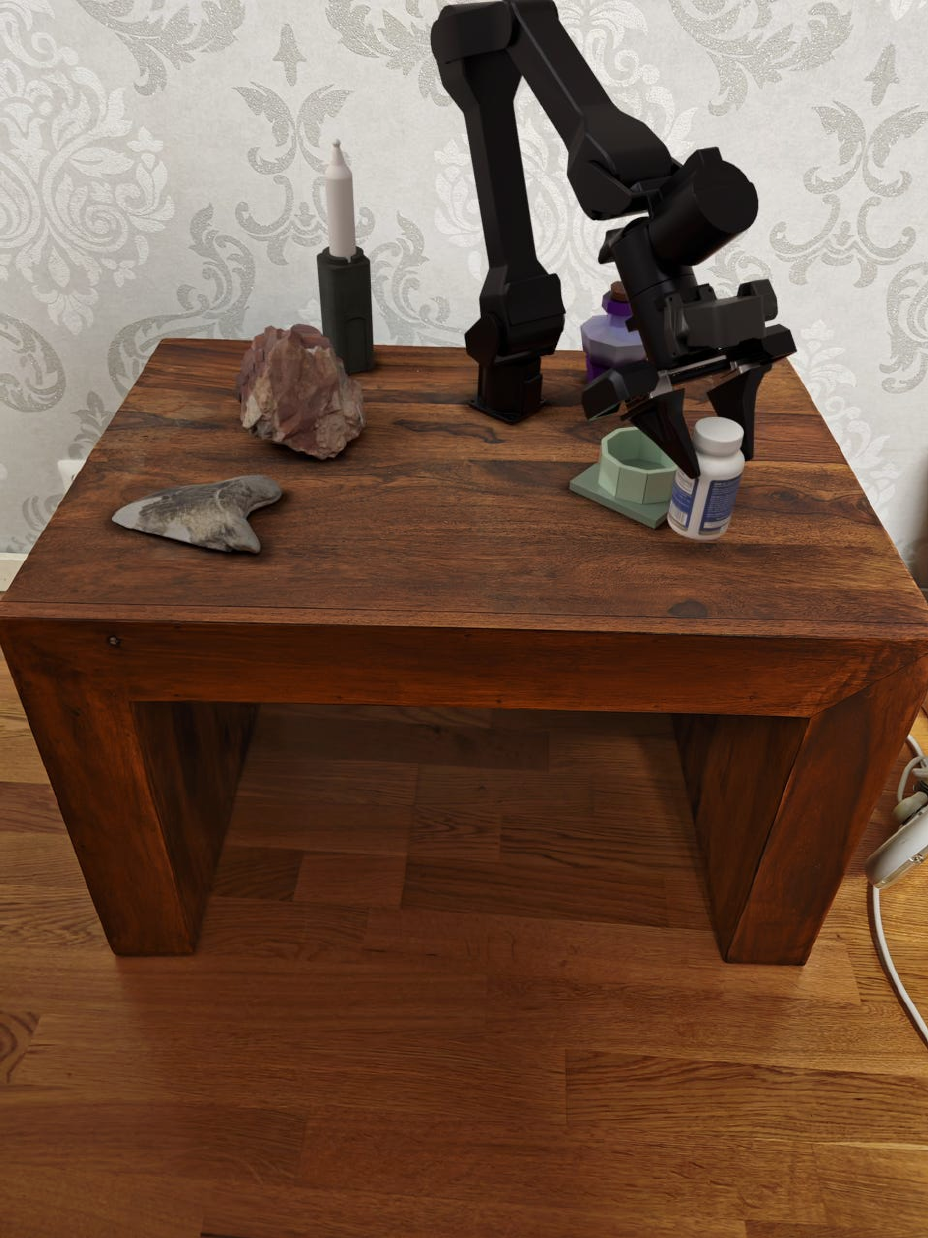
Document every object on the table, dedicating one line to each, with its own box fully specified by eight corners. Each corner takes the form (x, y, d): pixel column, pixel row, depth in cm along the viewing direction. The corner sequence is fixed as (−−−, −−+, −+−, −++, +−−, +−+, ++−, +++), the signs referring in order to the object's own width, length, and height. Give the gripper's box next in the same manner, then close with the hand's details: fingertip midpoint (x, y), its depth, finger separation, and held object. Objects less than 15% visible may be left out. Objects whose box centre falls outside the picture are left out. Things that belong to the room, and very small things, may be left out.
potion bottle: (613, 361, 118) (626, 263, 110) (663, 390, 113) (681, 290, 105) (558, 379, 114) (568, 279, 106) (608, 410, 109) (622, 308, 101)
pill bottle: (731, 514, 87) (756, 418, 81) (723, 548, 83) (748, 451, 77) (671, 501, 88) (692, 406, 82) (661, 534, 85) (681, 437, 78)
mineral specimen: (281, 500, 102) (243, 397, 109) (391, 449, 102) (346, 349, 109) (236, 439, 92) (197, 329, 98) (359, 383, 92) (312, 276, 98)
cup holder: (568, 489, 97) (573, 450, 94) (623, 450, 103) (629, 412, 100) (654, 529, 92) (662, 489, 89) (707, 485, 98) (715, 447, 95)
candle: (337, 377, 113) (321, 148, 96) (321, 359, 116) (303, 134, 100) (377, 368, 115) (369, 142, 98) (361, 351, 118) (349, 129, 101)
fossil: (122, 457, 93) (274, 451, 92) (138, 493, 97) (285, 488, 95) (86, 538, 86) (251, 532, 84) (105, 574, 89) (264, 569, 88)
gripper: (621, 267, 69) (692, 474, 70) (812, 226, 76) (875, 414, 77) (551, 327, 80) (612, 507, 80) (725, 286, 87) (780, 451, 87)
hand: (722, 469), depth 81 cm, fingers closed on pill bottle, 5 cm apart
